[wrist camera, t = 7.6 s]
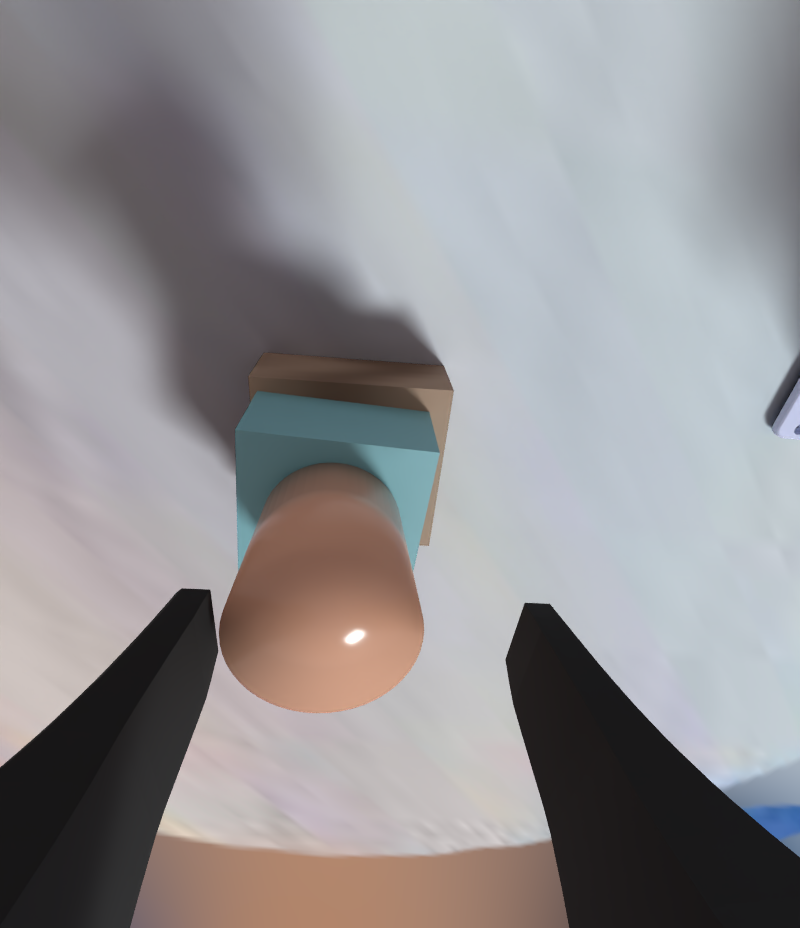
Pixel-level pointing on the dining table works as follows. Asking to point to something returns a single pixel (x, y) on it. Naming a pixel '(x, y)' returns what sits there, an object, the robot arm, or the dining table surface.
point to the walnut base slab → (364, 392)
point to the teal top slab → (333, 453)
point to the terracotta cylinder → (324, 595)
